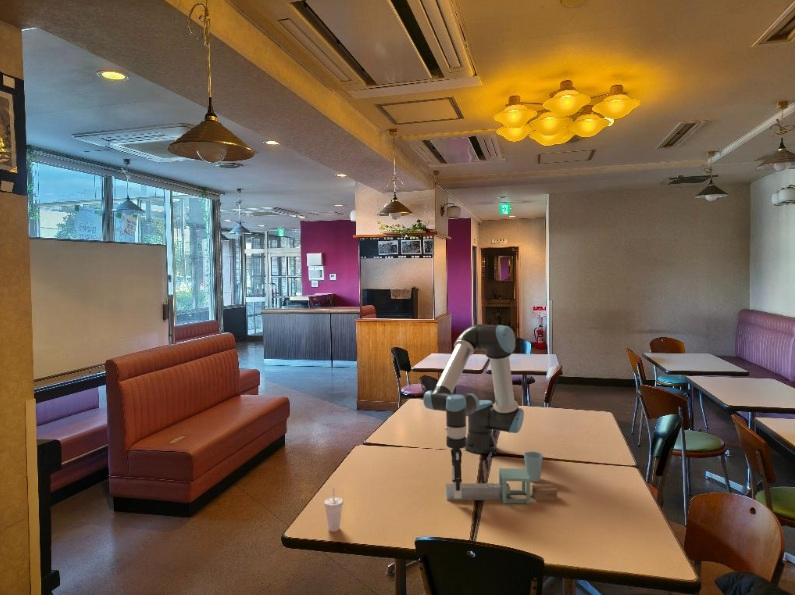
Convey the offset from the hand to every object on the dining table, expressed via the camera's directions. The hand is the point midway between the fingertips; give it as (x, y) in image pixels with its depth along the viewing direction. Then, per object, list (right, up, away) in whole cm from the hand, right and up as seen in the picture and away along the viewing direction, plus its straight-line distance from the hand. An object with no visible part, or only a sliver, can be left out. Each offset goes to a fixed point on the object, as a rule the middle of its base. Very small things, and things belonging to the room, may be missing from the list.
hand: (456, 490), depth 201 cm
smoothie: (-44, -5, -24) cm, 51 cm away
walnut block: (+33, -3, -2) cm, 34 cm away
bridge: (+22, -2, -1) cm, 22 cm away
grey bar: (+8, -3, -1) cm, 9 cm away
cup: (+34, -2, +16) cm, 38 cm away
